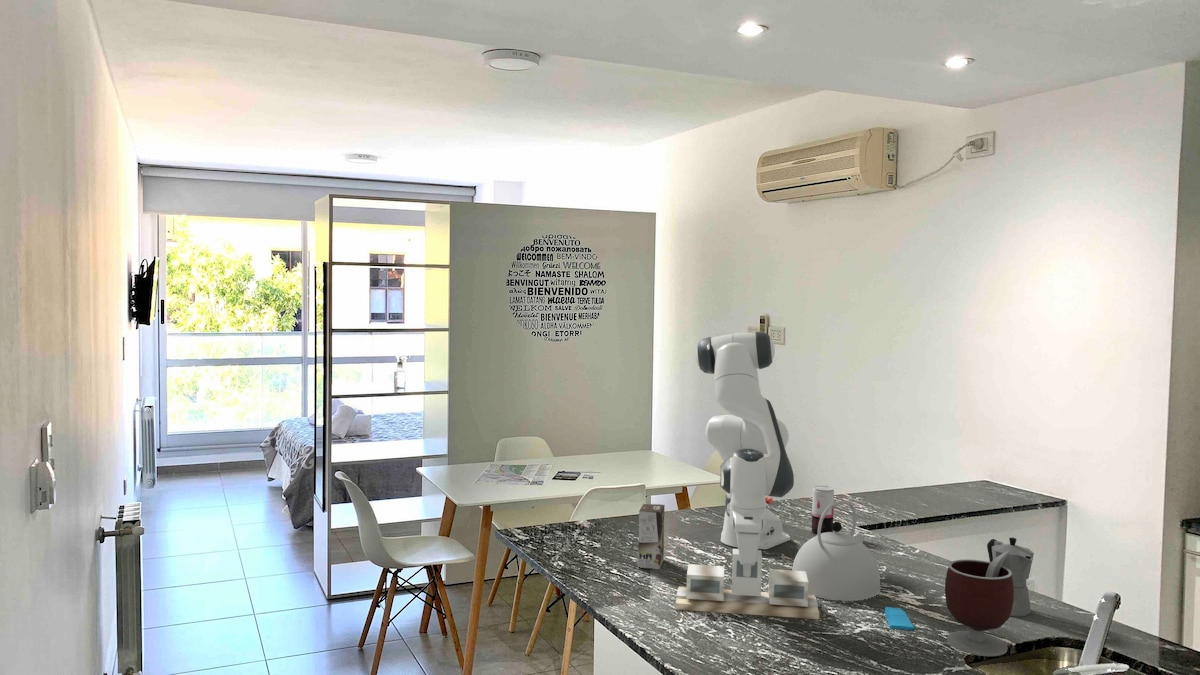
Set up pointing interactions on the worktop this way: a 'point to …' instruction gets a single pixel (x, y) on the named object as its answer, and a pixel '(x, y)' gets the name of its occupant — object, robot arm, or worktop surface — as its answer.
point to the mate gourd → (979, 603)
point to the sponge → (898, 619)
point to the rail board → (780, 600)
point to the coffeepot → (1015, 571)
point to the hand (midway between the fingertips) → (746, 571)
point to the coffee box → (651, 536)
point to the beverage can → (822, 508)
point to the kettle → (838, 564)
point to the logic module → (746, 584)
